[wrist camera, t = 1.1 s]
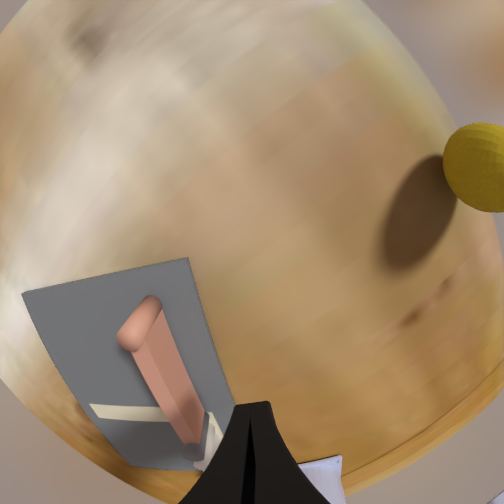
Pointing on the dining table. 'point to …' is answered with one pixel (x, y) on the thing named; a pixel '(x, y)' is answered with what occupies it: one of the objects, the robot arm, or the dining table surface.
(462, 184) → the lemon
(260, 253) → the dining table surface
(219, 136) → the dining table surface
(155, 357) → the pink rounded-end bar
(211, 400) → the mat
